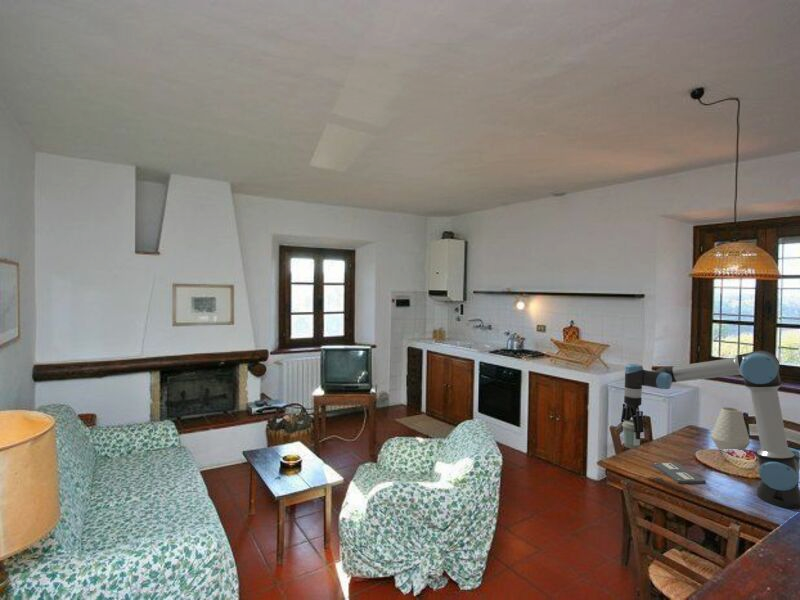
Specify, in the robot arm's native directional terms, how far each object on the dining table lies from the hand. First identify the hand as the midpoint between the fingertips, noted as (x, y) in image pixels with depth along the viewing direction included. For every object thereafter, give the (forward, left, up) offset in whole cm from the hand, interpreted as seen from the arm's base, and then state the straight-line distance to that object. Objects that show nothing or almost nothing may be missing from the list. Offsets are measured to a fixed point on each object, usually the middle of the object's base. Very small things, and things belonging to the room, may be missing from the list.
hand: (631, 441), depth 217 cm
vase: (+25, -70, -15) cm, 76 cm away
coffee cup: (0, 0, -3) cm, 3 cm away
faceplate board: (-4, -21, -14) cm, 26 cm away
